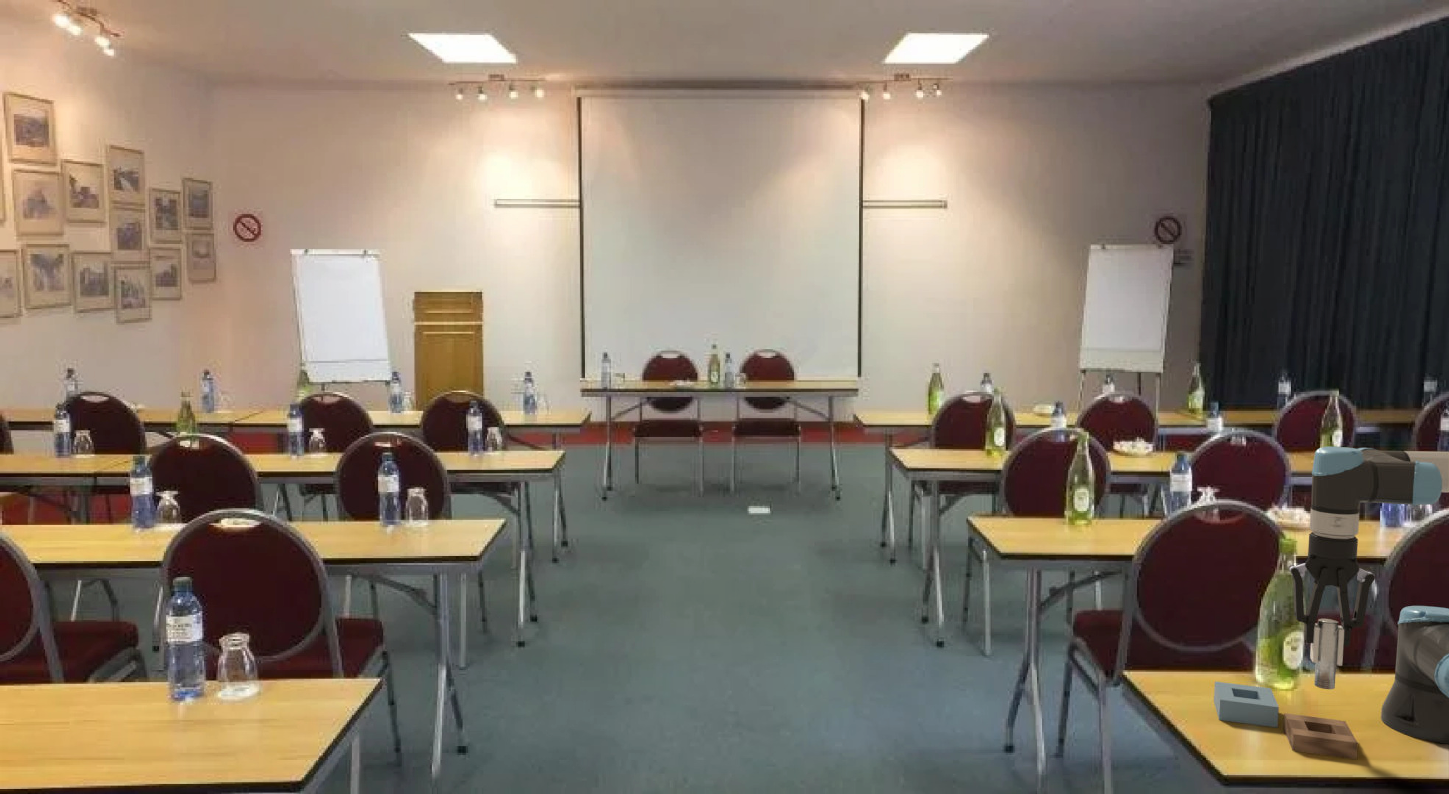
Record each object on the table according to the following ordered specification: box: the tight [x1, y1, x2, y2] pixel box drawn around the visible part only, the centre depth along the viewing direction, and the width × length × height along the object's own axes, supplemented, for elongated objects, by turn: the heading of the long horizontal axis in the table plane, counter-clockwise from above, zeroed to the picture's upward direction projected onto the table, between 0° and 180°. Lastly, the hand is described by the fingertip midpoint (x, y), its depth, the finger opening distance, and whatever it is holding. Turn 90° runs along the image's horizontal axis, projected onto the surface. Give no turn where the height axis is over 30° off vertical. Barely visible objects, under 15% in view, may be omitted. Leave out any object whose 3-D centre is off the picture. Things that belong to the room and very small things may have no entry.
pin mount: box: [1283, 712, 1359, 760], centre depth 188 cm, size 10×10×3 cm
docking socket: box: [1213, 681, 1280, 728], centre depth 201 cm, size 10×10×4 cm
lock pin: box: [1314, 618, 1340, 690], centre depth 186 cm, size 3×3×12 cm
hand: (1325, 661), depth 186 cm, fingers closed on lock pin, 3 cm apart
